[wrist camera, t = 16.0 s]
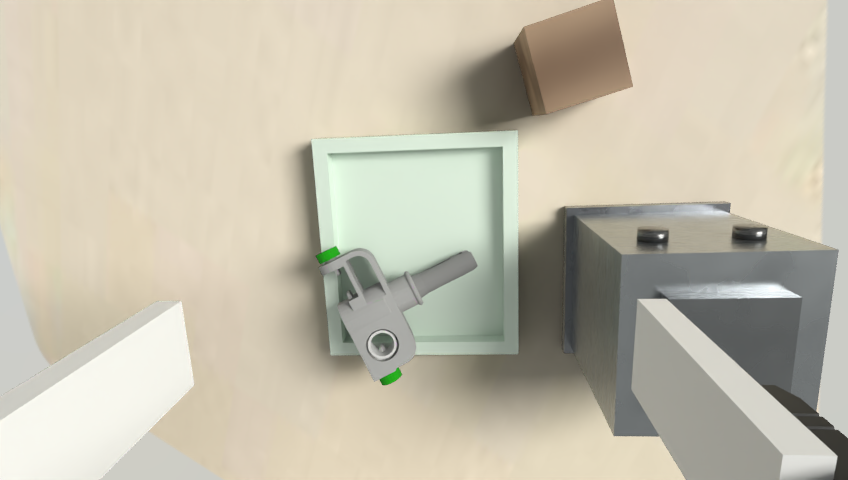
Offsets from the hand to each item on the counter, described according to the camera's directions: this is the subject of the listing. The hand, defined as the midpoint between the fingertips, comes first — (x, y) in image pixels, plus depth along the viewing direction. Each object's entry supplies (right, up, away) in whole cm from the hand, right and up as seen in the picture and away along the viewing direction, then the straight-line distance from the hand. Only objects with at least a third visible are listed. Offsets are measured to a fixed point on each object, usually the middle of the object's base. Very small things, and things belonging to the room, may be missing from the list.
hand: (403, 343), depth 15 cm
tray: (0, +3, +23) cm, 24 cm away
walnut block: (+10, +15, +20) cm, 27 cm away
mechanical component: (+4, +2, +22) cm, 22 cm away
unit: (+16, 0, +23) cm, 28 cm away
